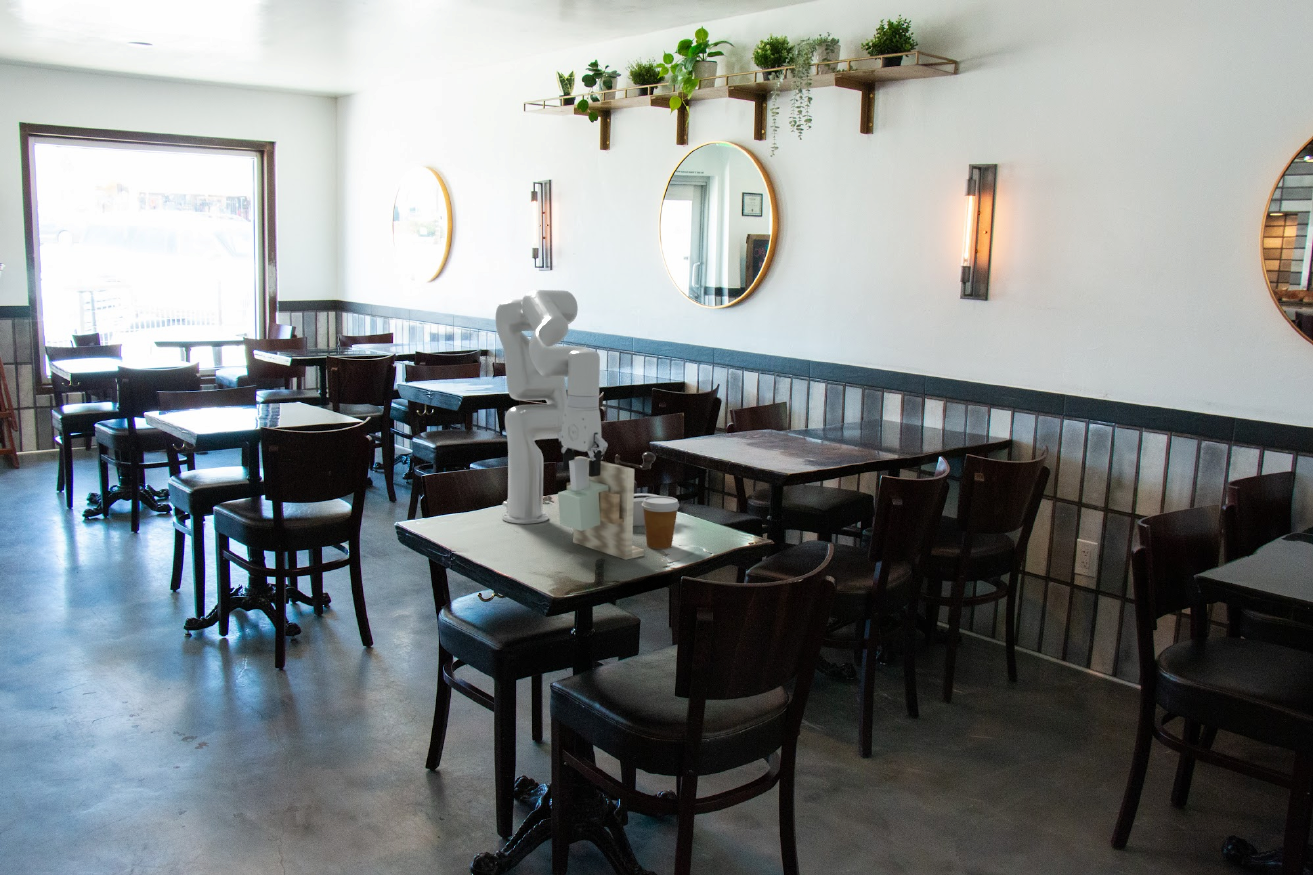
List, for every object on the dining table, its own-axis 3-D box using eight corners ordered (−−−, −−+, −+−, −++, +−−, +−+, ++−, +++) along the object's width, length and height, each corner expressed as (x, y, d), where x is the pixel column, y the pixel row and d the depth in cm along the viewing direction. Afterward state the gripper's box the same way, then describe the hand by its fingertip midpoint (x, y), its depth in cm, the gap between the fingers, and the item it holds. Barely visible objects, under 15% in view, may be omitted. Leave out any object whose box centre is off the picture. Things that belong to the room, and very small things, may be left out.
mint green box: (560, 524, 252) (555, 460, 248) (589, 514, 258) (585, 452, 254) (581, 530, 246) (576, 465, 242) (610, 521, 252) (606, 457, 248)
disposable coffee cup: (651, 552, 256) (652, 505, 254) (634, 543, 264) (635, 497, 262) (684, 548, 260) (686, 502, 258) (667, 539, 269) (668, 494, 267)
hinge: (667, 520, 289) (670, 490, 284) (670, 530, 285) (673, 499, 280) (607, 521, 286) (610, 491, 281) (609, 531, 281) (612, 500, 277)
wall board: (563, 544, 261) (564, 458, 258) (591, 538, 268) (592, 454, 264) (615, 561, 247) (618, 471, 243) (644, 555, 253) (646, 467, 250)
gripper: (548, 398, 250) (546, 468, 253) (594, 408, 238) (592, 480, 240) (572, 396, 255) (570, 464, 258) (619, 405, 243) (616, 477, 246)
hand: (581, 472), depth 249 cm, fingers open, 9 cm apart
